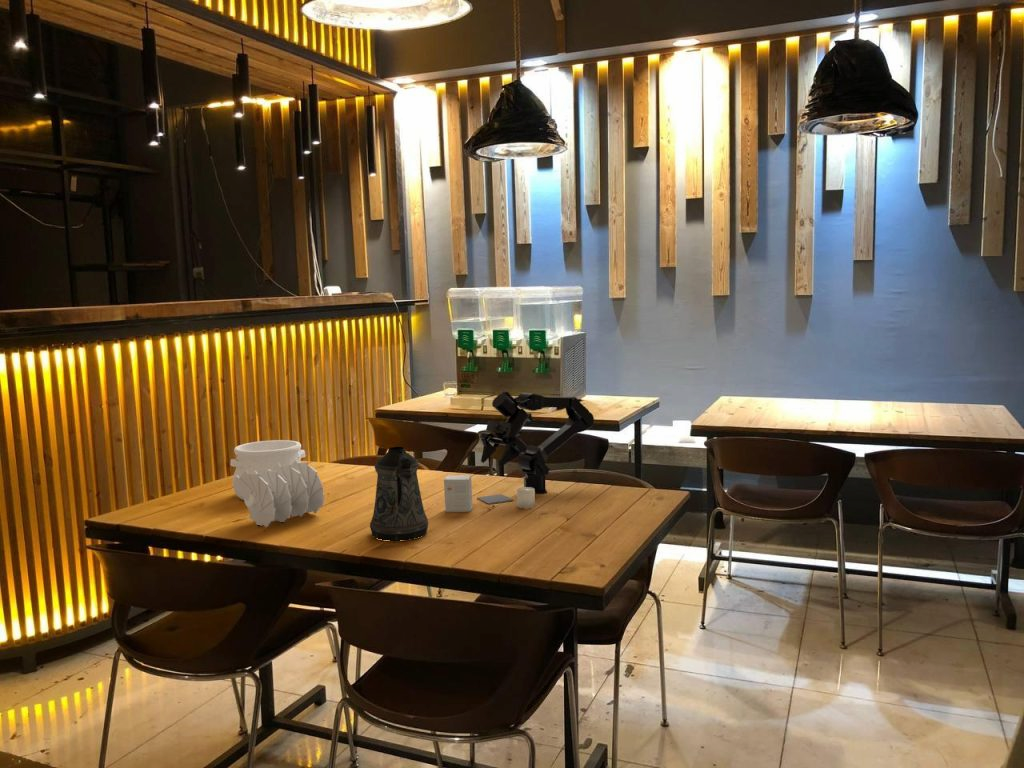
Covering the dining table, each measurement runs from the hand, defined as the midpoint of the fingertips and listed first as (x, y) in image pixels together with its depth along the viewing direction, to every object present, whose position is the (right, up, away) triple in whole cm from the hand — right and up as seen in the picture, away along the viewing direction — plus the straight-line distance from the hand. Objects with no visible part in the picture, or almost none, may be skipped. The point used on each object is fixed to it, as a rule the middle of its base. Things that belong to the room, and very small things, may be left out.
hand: (490, 464), depth 270 cm
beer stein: (-24, -17, -35) cm, 45 cm away
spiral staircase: (-63, -16, -16) cm, 67 cm away
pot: (-77, -13, +17) cm, 80 cm away
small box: (-10, -14, -9) cm, 19 cm away
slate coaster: (+1, -12, +3) cm, 12 cm away
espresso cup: (+11, -13, -7) cm, 19 cm away
